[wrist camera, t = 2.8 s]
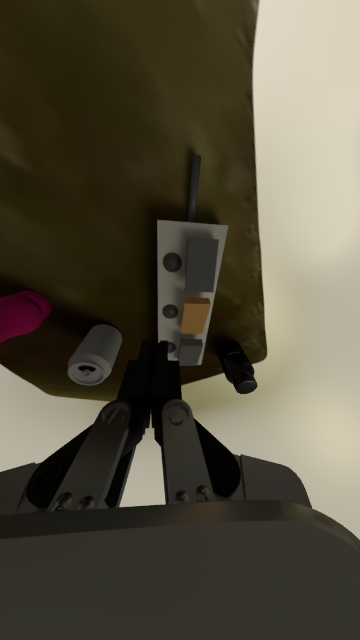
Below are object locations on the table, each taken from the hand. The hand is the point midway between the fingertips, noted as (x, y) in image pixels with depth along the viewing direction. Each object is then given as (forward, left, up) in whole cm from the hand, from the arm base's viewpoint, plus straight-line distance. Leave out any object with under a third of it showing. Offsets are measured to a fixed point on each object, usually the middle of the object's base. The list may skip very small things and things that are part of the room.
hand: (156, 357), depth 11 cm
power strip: (+7, +5, -24) cm, 26 cm away
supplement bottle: (+21, +19, -24) cm, 37 cm away
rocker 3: (+17, +6, -18) cm, 25 cm away
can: (+16, -13, -24) cm, 32 cm away
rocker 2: (+7, +6, -18) cm, 20 cm away
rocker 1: (-2, +6, -18) cm, 19 cm away
